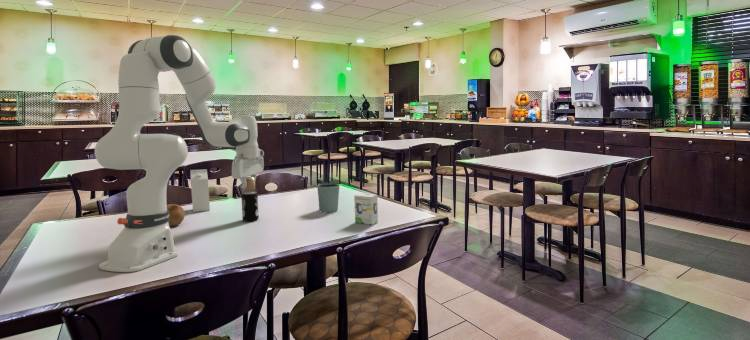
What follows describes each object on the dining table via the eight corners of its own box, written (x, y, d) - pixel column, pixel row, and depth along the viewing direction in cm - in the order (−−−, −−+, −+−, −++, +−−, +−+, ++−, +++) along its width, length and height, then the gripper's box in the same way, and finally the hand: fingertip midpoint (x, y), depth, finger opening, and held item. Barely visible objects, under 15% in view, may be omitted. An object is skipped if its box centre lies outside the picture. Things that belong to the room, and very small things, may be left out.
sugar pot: (251, 191, 175) (251, 178, 175) (241, 191, 176) (240, 178, 176) (257, 189, 180) (256, 176, 179) (246, 188, 181) (246, 176, 180)
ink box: (378, 222, 175) (378, 194, 174) (372, 225, 171) (372, 196, 169) (360, 219, 179) (360, 192, 178) (354, 222, 175) (353, 194, 173)
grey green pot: (314, 212, 193) (313, 186, 191) (323, 207, 203) (322, 182, 201) (334, 213, 190) (334, 187, 188) (343, 208, 200) (342, 183, 198)
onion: (179, 233, 171) (182, 214, 167) (154, 229, 169) (156, 209, 164) (186, 220, 179) (189, 200, 175) (162, 215, 177) (164, 195, 173)
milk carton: (192, 209, 200) (190, 169, 198) (208, 207, 203) (206, 168, 201) (193, 212, 194) (190, 171, 191) (209, 210, 197) (207, 170, 194)
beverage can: (254, 222, 176) (252, 194, 175) (239, 221, 178) (238, 193, 176) (261, 218, 183) (260, 191, 181) (247, 217, 184) (246, 190, 182)
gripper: (241, 156, 165) (242, 191, 167) (265, 151, 185) (267, 182, 187) (226, 155, 167) (228, 190, 169) (252, 150, 186) (254, 181, 188)
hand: (249, 186), depth 178 cm, fingers closed on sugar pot, 5 cm apart
